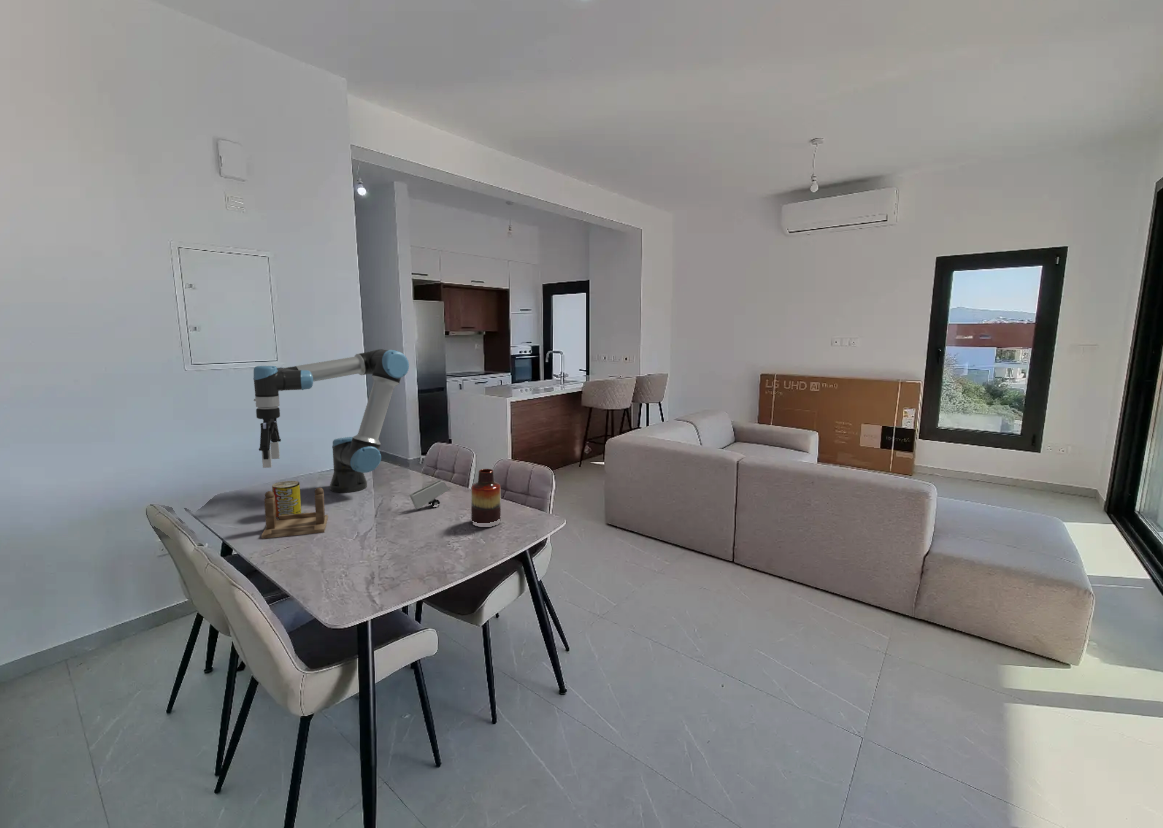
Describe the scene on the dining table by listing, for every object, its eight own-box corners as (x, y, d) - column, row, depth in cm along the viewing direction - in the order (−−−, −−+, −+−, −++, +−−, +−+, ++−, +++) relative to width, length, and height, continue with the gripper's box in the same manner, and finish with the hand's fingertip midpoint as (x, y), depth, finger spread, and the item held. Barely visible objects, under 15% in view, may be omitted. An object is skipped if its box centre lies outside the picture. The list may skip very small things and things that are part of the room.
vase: (506, 523, 194) (506, 470, 191) (482, 530, 186) (482, 476, 183) (488, 515, 201) (489, 465, 198) (465, 522, 193) (465, 470, 190)
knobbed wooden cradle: (327, 517, 194) (326, 481, 191) (324, 532, 180) (322, 493, 178) (270, 523, 186) (267, 485, 184) (261, 538, 173) (258, 498, 171)
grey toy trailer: (421, 517, 204) (453, 497, 212) (412, 496, 200) (445, 477, 209) (417, 514, 207) (449, 495, 215) (408, 494, 203) (440, 475, 212)
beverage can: (270, 514, 196) (268, 483, 194) (296, 508, 202) (294, 479, 200) (278, 520, 190) (276, 489, 188) (304, 514, 196) (303, 484, 194)
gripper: (264, 403, 201) (268, 455, 204) (246, 412, 178) (251, 472, 181) (286, 402, 203) (289, 454, 207) (271, 412, 180) (275, 470, 183)
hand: (271, 463), depth 194 cm, fingers open, 13 cm apart
